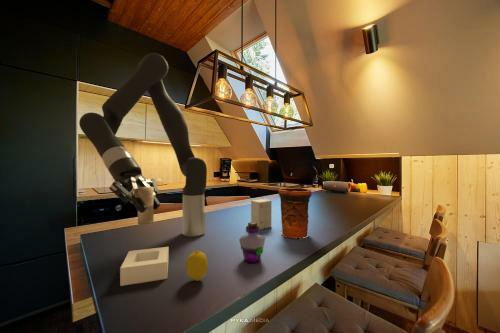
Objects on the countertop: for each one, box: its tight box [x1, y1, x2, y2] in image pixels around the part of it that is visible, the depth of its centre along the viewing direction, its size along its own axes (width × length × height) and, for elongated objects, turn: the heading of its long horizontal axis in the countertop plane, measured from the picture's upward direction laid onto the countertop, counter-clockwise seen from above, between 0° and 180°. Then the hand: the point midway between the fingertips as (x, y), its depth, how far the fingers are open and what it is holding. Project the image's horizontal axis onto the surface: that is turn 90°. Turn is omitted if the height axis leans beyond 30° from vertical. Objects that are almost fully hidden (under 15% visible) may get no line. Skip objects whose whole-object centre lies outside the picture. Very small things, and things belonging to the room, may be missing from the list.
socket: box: [119, 246, 170, 287], centre depth 61 cm, size 11×11×4 cm
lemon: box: [185, 249, 209, 282], centre depth 56 cm, size 6×6×8 cm
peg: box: [137, 187, 155, 226], centre depth 61 cm, size 4×4×10 cm
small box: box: [250, 198, 272, 231], centre depth 104 cm, size 8×6×13 cm
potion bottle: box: [239, 221, 266, 265], centre depth 69 cm, size 9×9×12 cm
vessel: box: [277, 187, 313, 240], centre depth 94 cm, size 14×14×20 cm
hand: (151, 209), depth 60 cm, fingers closed on peg, 4 cm apart
